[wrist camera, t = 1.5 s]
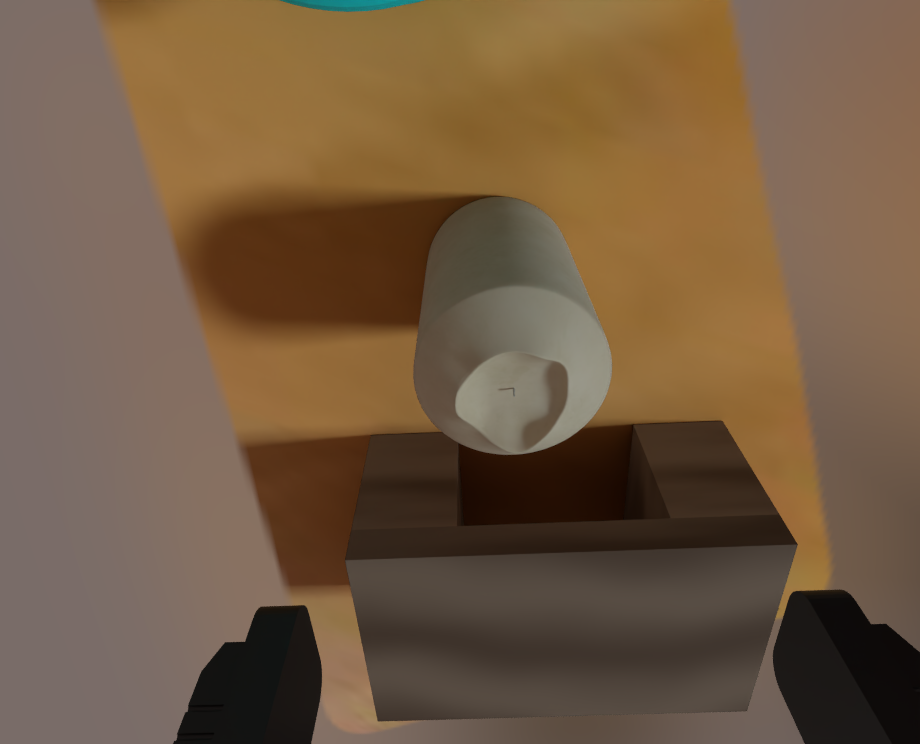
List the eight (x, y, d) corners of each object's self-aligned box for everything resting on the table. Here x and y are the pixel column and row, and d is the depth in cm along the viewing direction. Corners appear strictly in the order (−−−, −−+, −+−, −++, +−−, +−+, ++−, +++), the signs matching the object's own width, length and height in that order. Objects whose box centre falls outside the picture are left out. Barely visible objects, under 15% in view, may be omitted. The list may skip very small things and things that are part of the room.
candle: (562, 326, 26) (611, 487, 18) (430, 327, 26) (415, 488, 18) (573, 193, 24) (637, 307, 15) (424, 195, 24) (403, 310, 15)
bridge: (370, 435, 29) (345, 560, 23) (722, 421, 29) (797, 544, 22) (393, 584, 34) (377, 721, 28) (692, 574, 34) (746, 711, 27)
